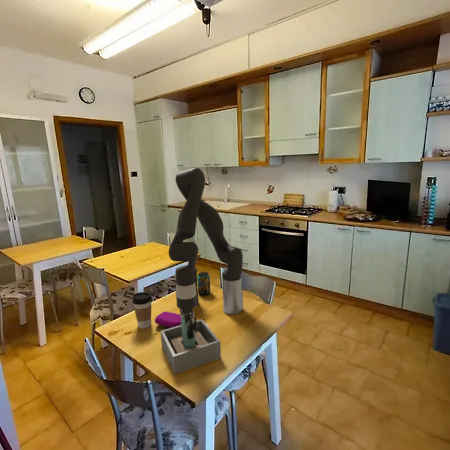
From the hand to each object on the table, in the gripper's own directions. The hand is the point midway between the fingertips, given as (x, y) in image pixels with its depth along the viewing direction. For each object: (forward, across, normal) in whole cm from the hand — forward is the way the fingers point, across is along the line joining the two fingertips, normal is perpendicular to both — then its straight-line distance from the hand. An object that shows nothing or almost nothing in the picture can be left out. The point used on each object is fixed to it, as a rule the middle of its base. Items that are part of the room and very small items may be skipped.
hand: (188, 334), depth 108 cm
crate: (+7, 0, 0) cm, 7 cm away
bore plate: (+7, 0, 0) cm, 7 cm away
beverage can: (+8, +46, -25) cm, 53 cm away
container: (+8, +38, -14) cm, 41 cm away
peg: (+4, 0, 0) cm, 4 cm away
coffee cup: (+8, +29, +12) cm, 32 cm away
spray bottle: (+7, +19, -3) cm, 21 cm away
